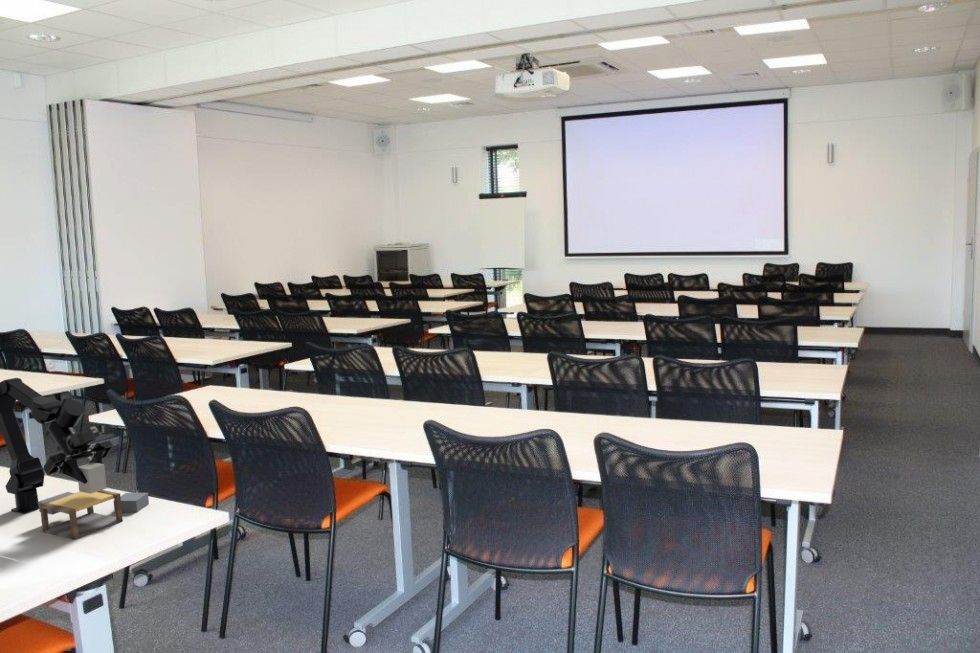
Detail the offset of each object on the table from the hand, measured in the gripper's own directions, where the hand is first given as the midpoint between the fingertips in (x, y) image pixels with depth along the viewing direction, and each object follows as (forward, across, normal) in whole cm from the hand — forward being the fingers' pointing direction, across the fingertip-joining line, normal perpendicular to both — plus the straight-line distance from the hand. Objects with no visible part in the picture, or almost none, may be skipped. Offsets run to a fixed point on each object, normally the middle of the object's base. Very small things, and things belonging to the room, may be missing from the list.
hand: (94, 479), depth 231 cm
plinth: (+7, +14, +12) cm, 20 cm away
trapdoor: (+2, -2, +12) cm, 12 cm away
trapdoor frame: (+7, -2, +12) cm, 14 cm away
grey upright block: (+1, 0, +3) cm, 3 cm away
